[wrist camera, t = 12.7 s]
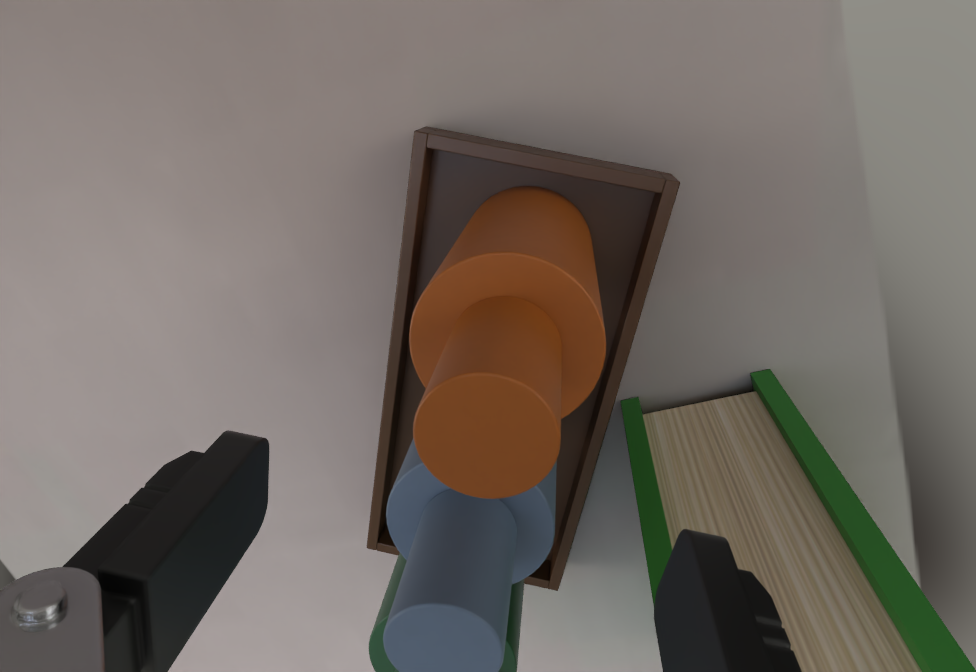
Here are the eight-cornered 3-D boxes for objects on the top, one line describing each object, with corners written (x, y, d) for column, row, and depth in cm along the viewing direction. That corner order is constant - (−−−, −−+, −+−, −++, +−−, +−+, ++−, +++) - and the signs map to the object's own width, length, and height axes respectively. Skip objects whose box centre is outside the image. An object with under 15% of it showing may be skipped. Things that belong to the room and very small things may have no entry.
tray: (377, 522, 37) (366, 548, 35) (425, 125, 27) (414, 130, 25) (558, 562, 36) (558, 591, 34) (672, 173, 27) (680, 182, 25)
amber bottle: (455, 297, 30) (347, 513, 15) (474, 173, 27) (368, 291, 13) (575, 321, 29) (584, 565, 15) (606, 199, 27) (652, 349, 12)
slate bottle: (435, 417, 33) (330, 696, 18) (451, 316, 30) (344, 545, 16) (545, 441, 32) (527, 742, 18) (570, 340, 30) (574, 596, 15)
